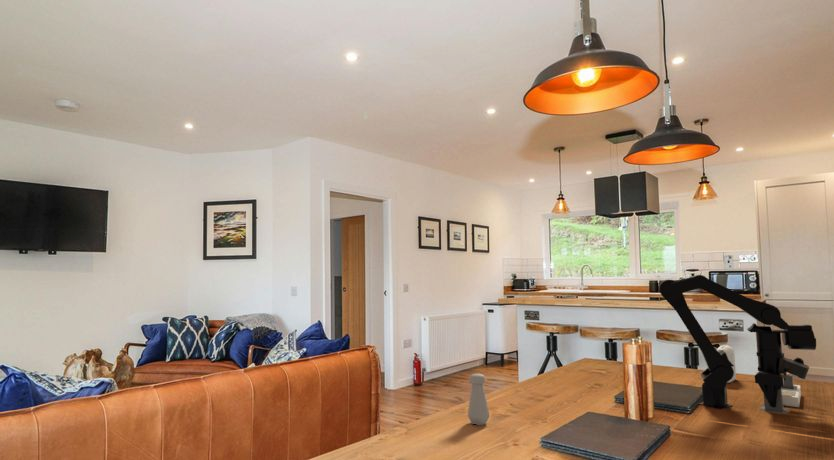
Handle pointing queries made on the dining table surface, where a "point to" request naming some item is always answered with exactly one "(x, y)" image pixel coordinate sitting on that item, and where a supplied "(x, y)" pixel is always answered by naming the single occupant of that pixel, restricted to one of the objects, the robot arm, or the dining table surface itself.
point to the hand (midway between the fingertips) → (773, 405)
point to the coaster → (774, 411)
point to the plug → (778, 403)
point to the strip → (790, 392)
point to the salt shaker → (478, 400)
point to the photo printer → (729, 358)
